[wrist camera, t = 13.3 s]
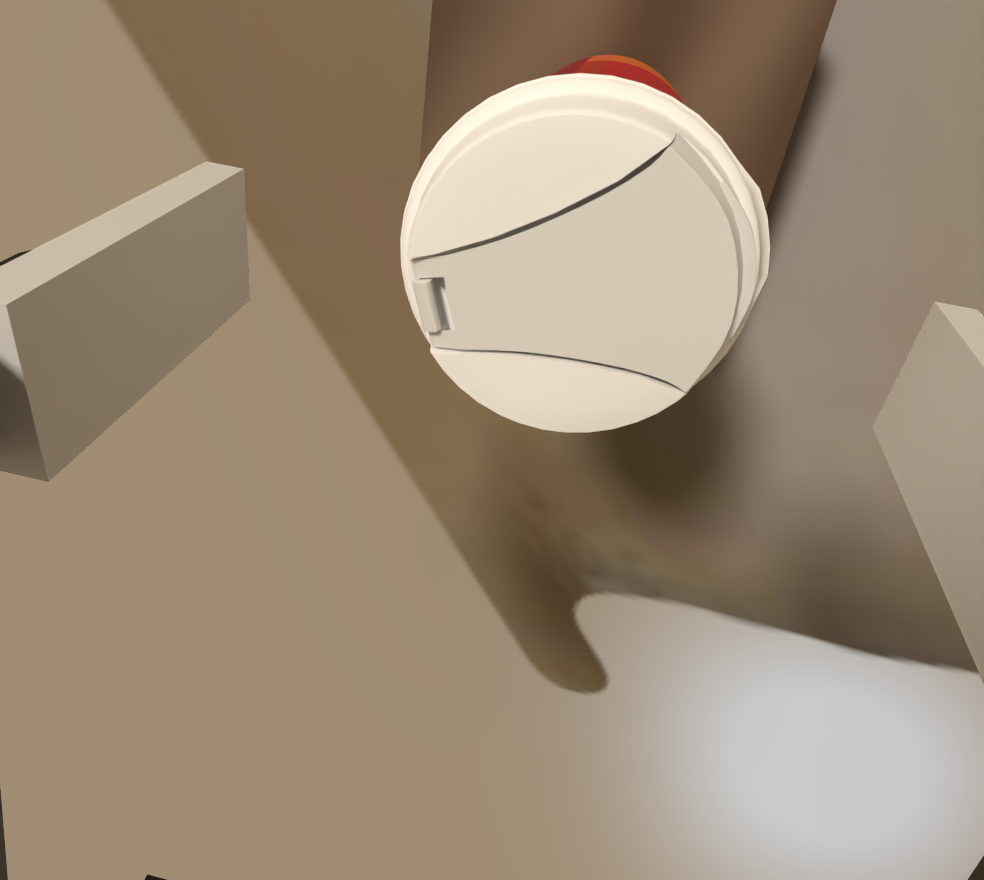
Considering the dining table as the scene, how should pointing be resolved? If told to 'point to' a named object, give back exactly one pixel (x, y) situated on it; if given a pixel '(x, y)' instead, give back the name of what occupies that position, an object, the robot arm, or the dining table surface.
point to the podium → (647, 38)
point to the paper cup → (583, 248)
